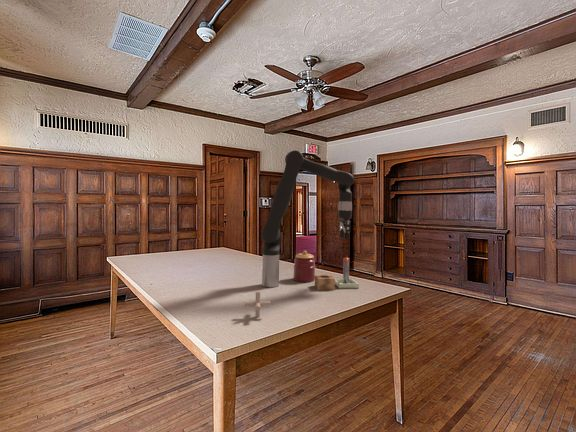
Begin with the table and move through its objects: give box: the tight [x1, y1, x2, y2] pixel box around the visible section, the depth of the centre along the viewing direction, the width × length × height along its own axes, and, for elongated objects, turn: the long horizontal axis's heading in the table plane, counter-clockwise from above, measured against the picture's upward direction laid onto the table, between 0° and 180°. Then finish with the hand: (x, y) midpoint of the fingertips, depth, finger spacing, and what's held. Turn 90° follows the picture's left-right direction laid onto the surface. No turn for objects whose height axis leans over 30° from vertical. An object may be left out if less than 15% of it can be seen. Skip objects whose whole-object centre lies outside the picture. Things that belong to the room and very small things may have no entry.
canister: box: [293, 250, 316, 283], centre depth 182 cm, size 13×13×18 cm
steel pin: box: [342, 257, 350, 284], centre depth 170 cm, size 3×3×15 cm
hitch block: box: [314, 274, 336, 291], centre depth 165 cm, size 9×9×6 cm
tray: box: [335, 278, 360, 290], centre depth 170 cm, size 11×11×2 cm
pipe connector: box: [244, 290, 272, 318], centre depth 120 cm, size 10×10×10 cm
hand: (344, 238), depth 170 cm, fingers open, 8 cm apart
